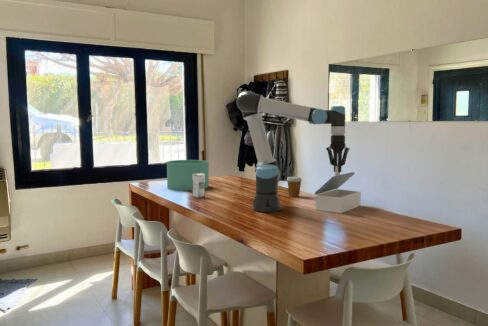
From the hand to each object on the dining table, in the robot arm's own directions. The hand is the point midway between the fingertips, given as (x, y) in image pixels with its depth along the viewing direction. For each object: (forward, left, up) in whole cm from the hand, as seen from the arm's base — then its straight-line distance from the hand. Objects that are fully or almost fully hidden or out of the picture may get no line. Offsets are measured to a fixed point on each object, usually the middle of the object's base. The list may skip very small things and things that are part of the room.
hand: (337, 178), depth 224 cm
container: (0, +116, -17) cm, 117 cm away
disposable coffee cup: (+16, +37, -17) cm, 43 cm away
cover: (0, +1, -3) cm, 3 cm away
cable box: (0, -1, -16) cm, 16 cm away
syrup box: (-24, +82, -17) cm, 87 cm away
